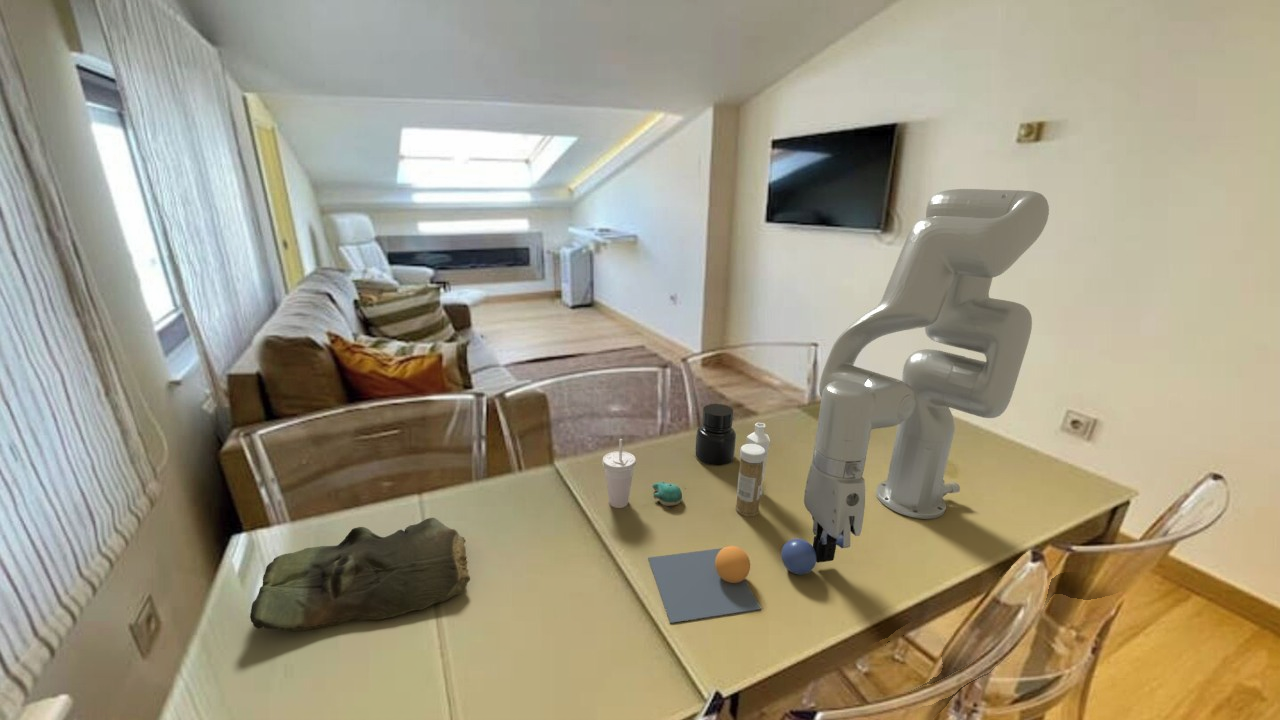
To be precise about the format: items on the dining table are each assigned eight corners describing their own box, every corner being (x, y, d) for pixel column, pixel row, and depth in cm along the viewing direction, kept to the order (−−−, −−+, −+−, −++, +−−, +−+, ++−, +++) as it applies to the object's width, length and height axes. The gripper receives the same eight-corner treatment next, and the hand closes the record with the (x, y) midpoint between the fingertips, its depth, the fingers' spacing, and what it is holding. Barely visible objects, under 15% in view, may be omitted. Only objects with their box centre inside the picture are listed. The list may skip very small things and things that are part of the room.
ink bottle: (729, 447, 126) (733, 401, 122) (740, 465, 118) (745, 417, 114) (689, 448, 125) (692, 402, 121) (698, 467, 117) (701, 418, 113)
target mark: (726, 548, 91) (726, 547, 91) (760, 609, 78) (761, 608, 78) (648, 558, 88) (648, 557, 88) (670, 623, 75) (670, 622, 75)
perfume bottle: (739, 494, 107) (746, 427, 102) (744, 483, 111) (750, 418, 106) (762, 499, 106) (770, 432, 101) (766, 488, 109) (773, 423, 105)
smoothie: (610, 515, 99) (611, 449, 95) (597, 497, 105) (597, 434, 100) (640, 506, 102) (642, 442, 98) (626, 490, 107) (627, 428, 103)
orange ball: (732, 532, 85) (704, 551, 85) (746, 555, 80) (716, 575, 80) (747, 554, 87) (719, 572, 87) (761, 577, 82) (732, 596, 82)
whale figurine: (662, 511, 101) (662, 494, 100) (645, 492, 107) (645, 475, 106) (688, 504, 104) (689, 487, 102) (670, 485, 110) (670, 469, 109)
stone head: (470, 591, 76) (240, 626, 67) (470, 627, 80) (253, 665, 71) (467, 496, 92) (280, 513, 83) (467, 530, 96) (289, 550, 87)
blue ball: (782, 529, 86) (770, 557, 88) (799, 552, 81) (786, 581, 83) (809, 533, 88) (797, 560, 90) (828, 555, 83) (815, 583, 84)
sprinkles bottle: (763, 512, 101) (770, 450, 97) (746, 520, 99) (753, 456, 95) (746, 500, 105) (753, 440, 101) (729, 507, 102) (735, 446, 98)
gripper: (891, 484, 75) (870, 587, 81) (833, 436, 89) (819, 528, 95) (844, 489, 73) (826, 594, 79) (792, 440, 87) (780, 533, 93)
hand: (822, 558), depth 87 cm, fingers closed
